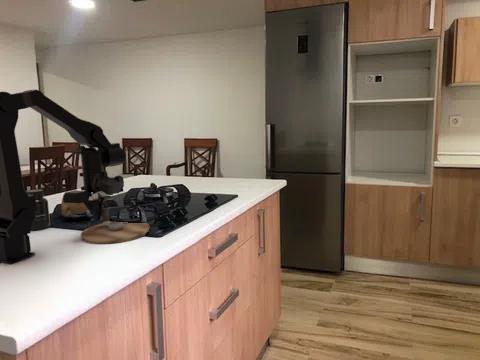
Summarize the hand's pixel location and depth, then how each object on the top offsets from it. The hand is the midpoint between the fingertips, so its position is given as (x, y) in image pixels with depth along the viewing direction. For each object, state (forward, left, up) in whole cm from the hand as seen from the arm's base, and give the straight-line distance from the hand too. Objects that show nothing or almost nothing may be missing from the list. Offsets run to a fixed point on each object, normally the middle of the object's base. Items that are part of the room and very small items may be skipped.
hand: (97, 220), depth 113 cm
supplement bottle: (-2, +22, -4) cm, 23 cm away
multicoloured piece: (+1, -4, -2) cm, 5 cm away
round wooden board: (0, -7, -3) cm, 8 cm away
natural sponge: (+10, +18, -4) cm, 21 cm away
